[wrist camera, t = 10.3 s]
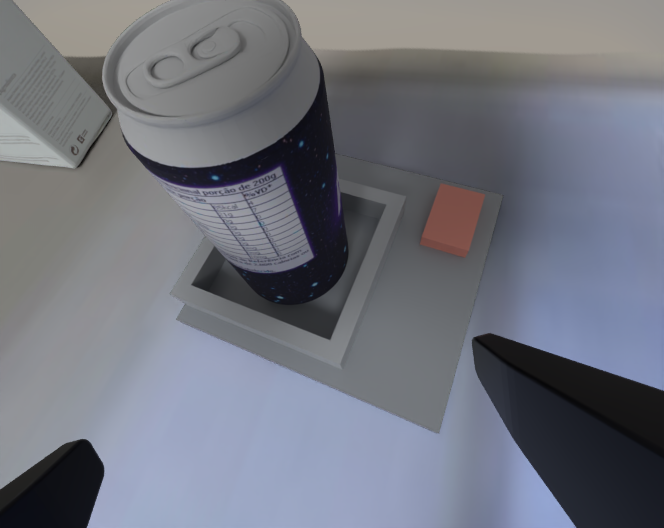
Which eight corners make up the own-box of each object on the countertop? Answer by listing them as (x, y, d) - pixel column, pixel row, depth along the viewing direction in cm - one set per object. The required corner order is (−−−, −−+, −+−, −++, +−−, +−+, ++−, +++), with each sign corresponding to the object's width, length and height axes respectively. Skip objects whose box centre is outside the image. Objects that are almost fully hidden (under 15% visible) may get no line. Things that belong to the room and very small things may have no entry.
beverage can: (370, 273, 18) (364, 54, 8) (276, 331, 18) (121, 178, 7) (316, 201, 21) (253, -46, 10) (231, 249, 20) (63, 37, 9)
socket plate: (499, 201, 20) (513, 176, 18) (436, 433, 15) (445, 433, 13) (284, 147, 24) (276, 121, 22) (181, 322, 19) (159, 310, 17)
